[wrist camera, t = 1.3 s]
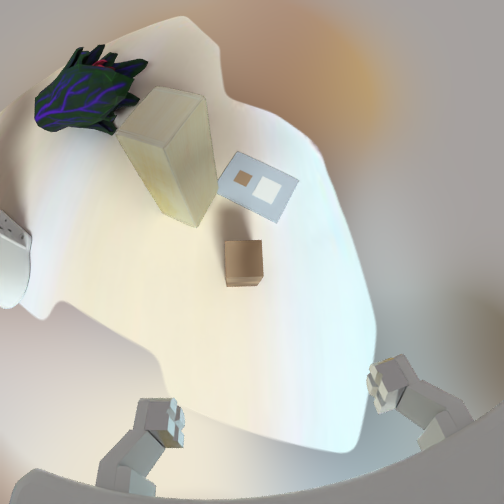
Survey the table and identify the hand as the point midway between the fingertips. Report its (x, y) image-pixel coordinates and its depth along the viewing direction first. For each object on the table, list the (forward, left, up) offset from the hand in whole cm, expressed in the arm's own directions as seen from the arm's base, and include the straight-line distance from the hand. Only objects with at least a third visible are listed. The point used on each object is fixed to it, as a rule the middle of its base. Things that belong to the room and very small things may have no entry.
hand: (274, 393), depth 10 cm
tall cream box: (-21, +12, -31) cm, 39 cm away
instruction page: (-14, +21, -31) cm, 40 cm away
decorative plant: (-50, +17, -31) cm, 61 cm away
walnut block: (-7, +8, -31) cm, 33 cm away
